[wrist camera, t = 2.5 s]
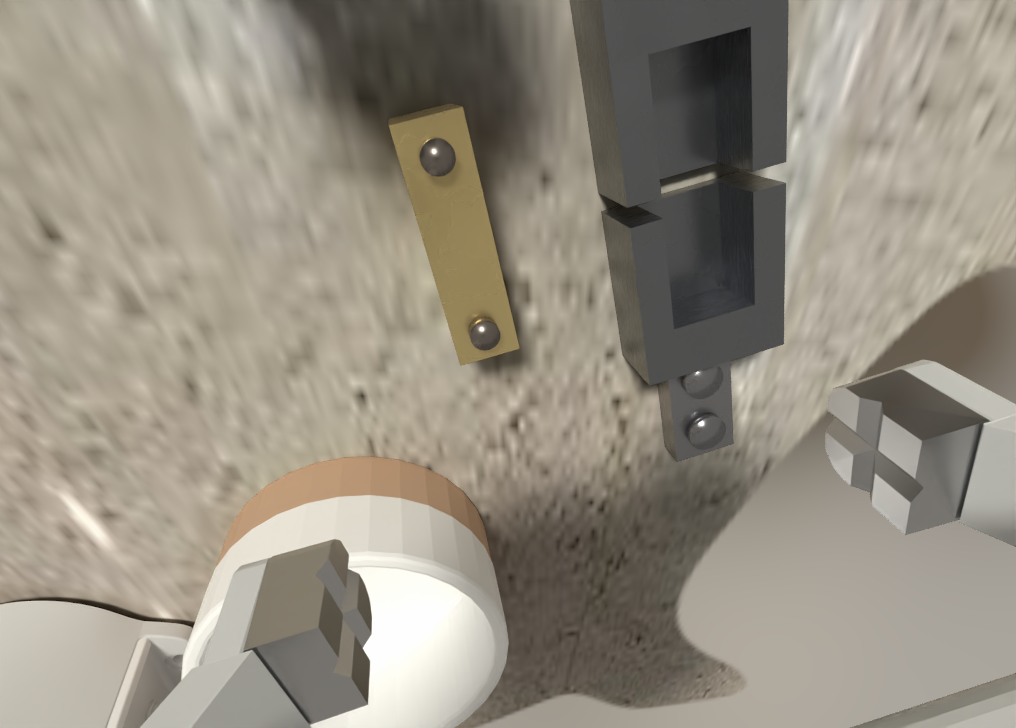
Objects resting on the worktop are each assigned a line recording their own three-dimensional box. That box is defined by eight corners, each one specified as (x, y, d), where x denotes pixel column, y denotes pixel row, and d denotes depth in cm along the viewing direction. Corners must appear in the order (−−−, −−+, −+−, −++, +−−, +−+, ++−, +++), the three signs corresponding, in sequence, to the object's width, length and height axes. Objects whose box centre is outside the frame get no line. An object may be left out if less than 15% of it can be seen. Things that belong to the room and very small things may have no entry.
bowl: (334, 404, 32) (319, 499, 25) (536, 533, 39) (569, 635, 32) (166, 587, 35) (109, 718, 28) (381, 673, 43) (379, 794, 36)
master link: (501, 311, 31) (523, 355, 26) (450, 326, 31) (462, 373, 26) (449, 103, 26) (465, 107, 21) (388, 118, 26) (388, 127, 21)
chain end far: (746, 420, 38) (782, 454, 35) (637, 454, 38) (663, 492, 34) (739, 171, 30) (785, 182, 27) (601, 211, 30) (629, 228, 26)
